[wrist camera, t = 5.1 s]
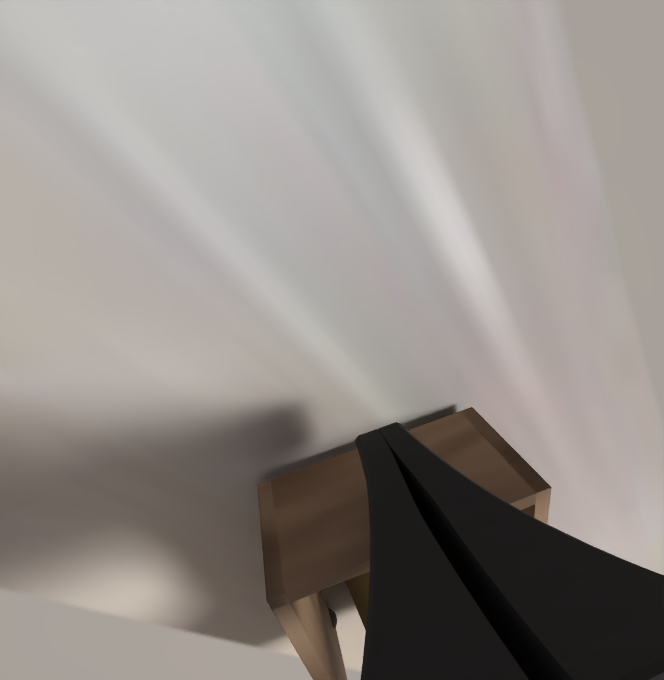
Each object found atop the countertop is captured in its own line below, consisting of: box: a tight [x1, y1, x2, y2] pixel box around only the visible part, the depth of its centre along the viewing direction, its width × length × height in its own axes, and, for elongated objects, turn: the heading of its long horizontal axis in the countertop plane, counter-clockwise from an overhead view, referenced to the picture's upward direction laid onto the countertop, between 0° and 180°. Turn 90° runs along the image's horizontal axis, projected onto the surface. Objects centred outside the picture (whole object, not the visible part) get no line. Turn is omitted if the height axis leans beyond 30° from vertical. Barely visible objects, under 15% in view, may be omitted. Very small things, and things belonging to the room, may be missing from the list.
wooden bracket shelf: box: [257, 407, 551, 680], centre depth 15 cm, size 11×9×4 cm
